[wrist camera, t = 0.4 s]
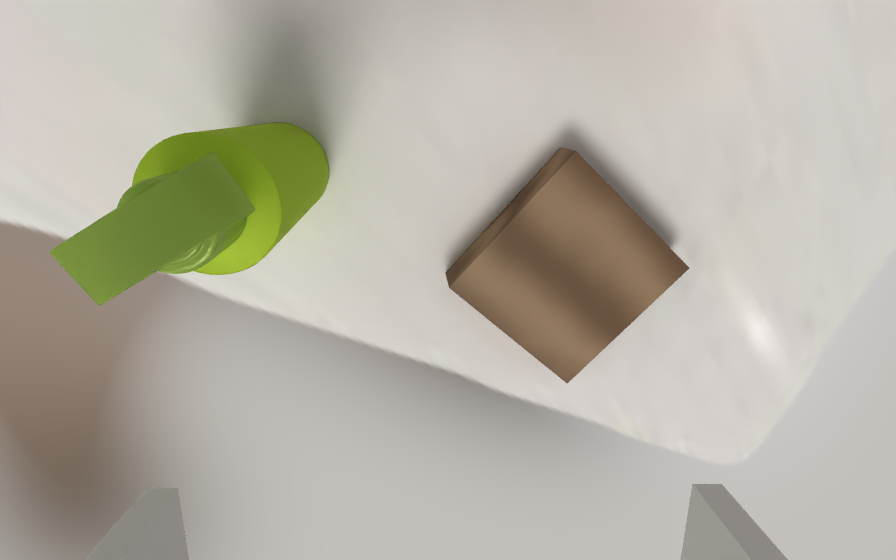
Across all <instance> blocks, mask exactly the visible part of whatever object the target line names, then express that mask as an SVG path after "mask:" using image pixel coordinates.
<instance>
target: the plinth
mask: <svg viewBox="0 0 896 560" xmlns="http://www.w3.org/2000/svg"><path fill="white" fill-rule="evenodd" d="M688 269H689V267H688V266H687V265H686V264H685V263H684V262H683V261H682V260H681V259H680V258H679V257H678V256H677V255H676V254H675V253H674V252H673V251H672V250H671V249H670V248H669V247H668V246H667V245H666V244H665V243H664V241H663V240H662V239H661V238H660V237H659V236H658V235H657V234H656V233H655V232H654V231H653V230H652V229H651V228H650V227H649V226H648V225H647V224H646V223H645V222H644V221H643V220H642V219H641V218H640V217H639V216H638V215H637V214H636V213H635V212H634V211H633V210H632V209H631V208H630V206H629V205H628V204H627V203H626V202H625V201H624V200H623V199H622V198H621V197H620V196H619V195H618V194H617V193H616V192H615V191H614V190H613V189H612V188H611V187H610V186H609V185H608V184H607V183H606V182H605V181H604V180H603V179H602V178H601V177H600V176H599V175H598V174H597V173H596V171H595V170H594V169H593V168H592V167H591V166H590V165H589V164H588V163H587V162H586V161H585V160H584V159H583V158H582V157H581V156H580V155H579V154H578V153H577V152H576V151H573V150H569V149H565V148H560V150H559V151H558V152H557V153H556V154H555V155H554V156H553V157H552V158H551V159H550V160H549V161H548V163H547V164H546V165H545V166H544V167H543V168H542V169H541V170H540V171H539V172H538V173H537V175H536V176H535V177H534V178H533V179H532V180H531V181H530V182H529V183H528V184H527V185H526V186H525V188H524V189H523V190H522V191H521V192H520V193H519V194H518V195H517V196H516V197H515V198H514V200H513V201H512V202H511V203H510V204H509V205H508V206H507V207H506V208H505V209H504V210H503V211H502V213H501V214H500V215H499V216H498V217H497V218H496V219H495V220H494V221H493V222H492V223H491V225H490V226H489V227H488V228H487V229H486V230H485V231H484V232H483V233H482V234H481V235H480V236H479V238H478V239H477V240H476V241H475V242H474V243H473V244H472V245H471V246H470V247H469V248H468V249H467V251H466V252H465V253H464V254H463V255H462V256H461V257H460V258H459V259H458V260H457V261H456V263H455V264H454V265H453V266H452V267H451V268H450V269H449V270H448V271H447V272H446V277H447V281H448V285H449V288H450V289H451V290H453V291H454V292H455V293H456V294H458V295H459V296H460V297H461V298H463V299H464V300H465V301H466V302H467V303H469V304H470V305H471V306H472V307H474V308H475V309H476V310H477V311H479V312H480V313H481V314H482V315H483V316H485V317H486V318H487V319H488V320H490V321H491V322H492V323H493V324H495V325H496V326H497V327H498V328H499V329H501V330H502V331H503V332H504V333H506V334H507V335H508V336H509V337H511V338H512V339H513V340H514V341H515V342H517V343H518V344H519V345H520V346H522V347H523V348H524V349H525V350H527V351H528V352H529V353H530V354H532V355H533V356H534V357H535V358H536V359H538V360H539V361H540V362H541V363H543V364H544V365H545V366H546V367H548V368H549V369H550V370H551V371H552V372H554V373H555V374H556V375H557V376H559V377H560V378H561V379H562V380H564V381H565V382H566V383H568V382H569V381H570V380H571V379H572V378H573V377H575V376H576V375H577V374H578V373H579V372H580V371H581V370H582V369H583V368H584V367H585V366H586V365H587V364H588V363H589V362H590V361H592V360H593V359H594V358H595V357H596V356H597V355H598V354H599V353H600V352H601V351H602V350H603V349H604V348H605V347H606V346H607V345H608V344H610V343H611V342H612V341H613V340H614V339H615V338H616V337H617V336H618V335H619V334H620V333H621V332H622V331H623V330H624V329H625V328H627V327H628V326H629V325H630V324H631V323H632V322H633V321H634V320H635V319H636V318H637V317H638V316H639V315H640V314H641V313H642V312H643V311H645V310H646V309H647V308H648V307H649V306H650V305H651V304H652V303H653V302H654V301H655V300H656V299H657V298H658V297H659V296H660V295H661V294H663V293H664V292H665V291H666V290H667V289H668V288H669V287H670V286H671V285H672V284H673V283H674V282H675V281H676V280H677V279H678V278H680V277H681V276H682V275H683V274H684V273H685V272H686V271H687V270H688Z"/></svg>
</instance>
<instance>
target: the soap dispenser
mask: <svg viewBox="0 0 896 560" xmlns="http://www.w3.org/2000/svg"><path fill="white" fill-rule="evenodd" d="M328 177H329V167H328V162H327V158H326V155H325V153H324V151H323V149H322V147H321V146H320V144H319V143H318V142H317V140H316V139H315V138H314V137H313V136H312V135H310V134H309V133H308V132H307V131H305V130H303V129H302V128H300V127H297V126H295V125H292V124H288V123H268V124H259V125H251V126H242V127H234V128H225V129H217V130H208V131H200V132H191V133H184V134H179V135H175V136H172V137H169V138H167V139H165V140H163V141H161V142H159V143H158V144H156V145H155V146H154V147H153V148H151V149H150V150H149V151H148V152H147V153H146V155H145V156H144V157H143V158H142V160H141V161H140V163H139V165H138V167H137V169H136V171H135V174H134V178H133V183H132V187H130V188H129V189H128V190H127V191H126V192H125V193H124V194H123V196H122V197H121V199H120V201H119V203H118V206H117V208H116V209H115V210H113V211H112V212H110V213H108V214H107V215H105V216H104V217H102V218H101V219H99V220H97V221H96V222H94V223H93V224H91V225H90V226H88V227H87V228H85V229H83V230H82V231H80V232H79V233H77V234H76V235H74V236H73V237H71V238H69V239H68V240H66V241H65V242H63V243H62V244H60V245H59V246H57V247H56V248H54V249H53V250H51V251H50V254H51V255H52V256H53V257H54V258H55V259H56V260H57V261H58V262H59V263H60V265H61V266H62V267H63V268H64V269H65V270H66V271H67V272H68V273H69V274H70V275H71V276H72V277H73V278H74V279H75V281H76V282H77V283H78V284H79V285H80V286H81V287H82V288H83V289H84V290H85V291H86V292H87V293H88V294H89V296H90V297H91V298H92V299H93V300H94V301H95V302H96V303H97V304H98V305H101V304H103V303H105V302H106V301H108V300H110V299H111V298H113V297H115V296H116V295H118V294H120V293H121V292H123V291H125V290H126V289H128V288H129V287H131V286H133V285H134V284H136V283H138V282H140V281H141V280H143V279H145V278H146V277H148V276H149V275H151V274H153V273H155V272H156V271H161V272H165V273H172V274H180V273H187V272H191V271H195V272H199V273H204V274H211V275H224V274H232V273H236V272H240V271H243V270H245V269H247V268H250V267H251V266H253V265H255V264H256V263H258V262H259V261H260V260H262V259H263V258H264V257H265V256H266V255H267V254H268V253H269V252H270V251H271V250H272V249H273V247H274V246H275V245H276V244H277V243H278V242H279V241H280V240H281V239H282V238H283V237H284V236H285V235H286V234H287V233H288V232H289V230H290V229H291V228H292V227H293V226H294V225H295V224H296V223H297V222H298V221H299V220H300V219H301V218H302V217H303V216H304V215H305V213H306V212H307V211H308V210H309V209H310V208H311V207H312V206H313V205H314V204H315V203H316V202H317V201H318V200H319V198H320V197H321V196H322V194H323V193H324V191H325V189H326V186H327V183H328Z"/></svg>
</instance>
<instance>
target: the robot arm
mask: <svg viewBox="0 0 896 560" xmlns="http://www.w3.org/2000/svg"><path fill="white" fill-rule="evenodd" d="M84 560H189V557H188V551H187V545H186V538H185V532H184V526H183V518H182V512H181V506H180V499H179V493H178V488H147V489H146V490H145V491H144V492H143V494H142V495H141V496H140V497H139V498H138V499H137V500H136V501H135V502H134V504H133V505H132V506H131V507H130V508H129V509H128V510H127V512H126V513H125V514H124V515H123V516H122V517H121V518H120V519H119V521H118V522H117V523H116V524H115V525H114V526H113V527H112V529H111V530H110V531H109V532H108V533H107V534H106V535H105V536H104V538H103V539H102V540H101V541H100V542H99V543H98V544H97V545H96V547H95V548H94V549H93V550H92V551H91V552H90V553H89V555H88V556H87V557H86V558H85V559H84ZM681 560H788V559H787V558H786V557H785V556H784V555H783V554H782V553H781V551H780V550H779V549H778V548H777V547H776V546H775V545H774V543H773V542H772V541H771V540H770V539H769V538H768V537H767V536H766V534H765V533H764V532H763V531H762V530H761V529H760V528H759V526H758V525H757V524H756V523H755V522H754V520H753V519H752V518H751V517H750V516H749V515H748V514H747V512H746V511H745V510H744V509H743V508H742V507H741V506H740V504H739V503H738V502H737V501H736V500H735V499H734V498H733V496H732V495H731V494H730V493H729V492H728V491H727V490H726V488H725V487H724V486H723V485H722V484H693V485H692V491H691V497H690V503H689V510H688V516H687V523H686V529H685V536H684V542H683V549H682V555H681Z"/></svg>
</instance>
